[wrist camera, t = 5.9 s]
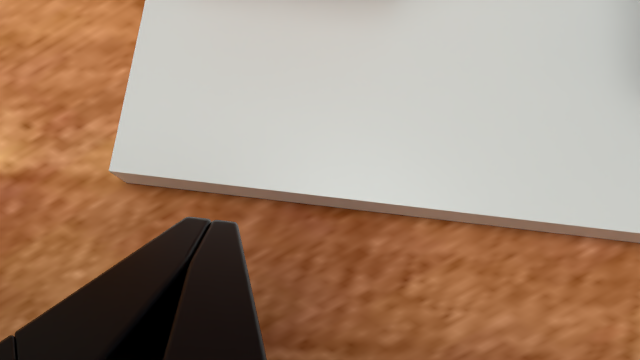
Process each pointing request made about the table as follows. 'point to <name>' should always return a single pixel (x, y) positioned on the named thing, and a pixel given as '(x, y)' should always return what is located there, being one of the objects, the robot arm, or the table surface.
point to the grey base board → (395, 108)
